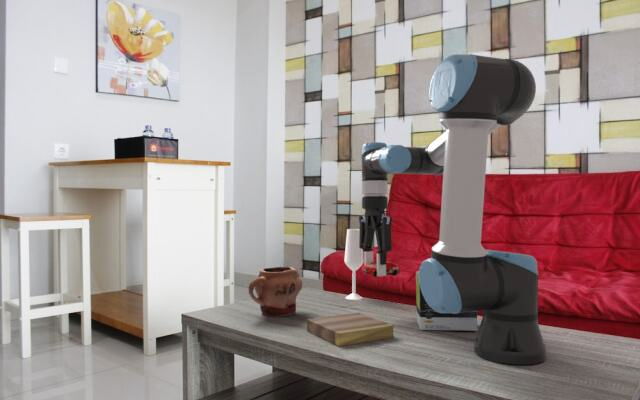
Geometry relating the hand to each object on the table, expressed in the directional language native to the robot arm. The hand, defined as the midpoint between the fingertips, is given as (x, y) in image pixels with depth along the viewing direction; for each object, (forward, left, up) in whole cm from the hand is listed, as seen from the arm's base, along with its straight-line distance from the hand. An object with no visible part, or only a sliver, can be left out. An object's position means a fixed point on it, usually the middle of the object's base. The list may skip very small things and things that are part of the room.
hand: (375, 274), depth 150 cm
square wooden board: (-13, +17, -12) cm, 25 cm away
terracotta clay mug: (+16, +25, -13) cm, 32 cm away
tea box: (-19, -10, -13) cm, 25 cm away
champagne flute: (+26, -9, -13) cm, 30 cm away
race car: (-1, +1, -3) cm, 3 cm away
